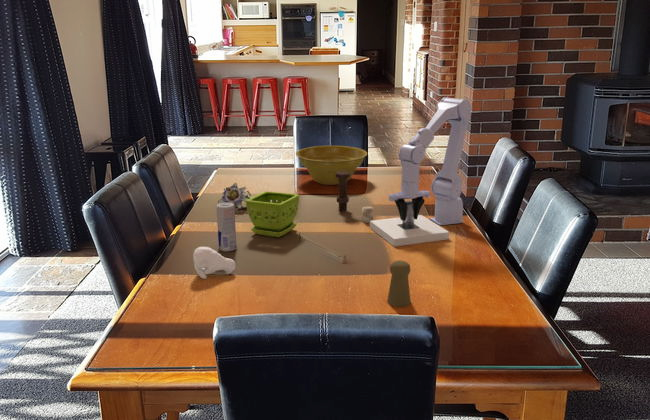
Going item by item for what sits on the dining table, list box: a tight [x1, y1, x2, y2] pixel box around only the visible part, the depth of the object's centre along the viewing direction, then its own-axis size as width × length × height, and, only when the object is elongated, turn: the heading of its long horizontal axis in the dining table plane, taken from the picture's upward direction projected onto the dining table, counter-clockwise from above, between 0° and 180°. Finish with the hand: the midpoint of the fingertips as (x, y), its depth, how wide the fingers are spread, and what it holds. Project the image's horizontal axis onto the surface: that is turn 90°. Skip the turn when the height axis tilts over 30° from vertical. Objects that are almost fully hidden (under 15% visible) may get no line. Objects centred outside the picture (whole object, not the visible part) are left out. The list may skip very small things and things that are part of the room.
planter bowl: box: [295, 145, 368, 186], centre depth 272 cm, size 32×32×13 cm
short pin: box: [361, 205, 374, 224], centre depth 218 cm, size 4×4×5 cm
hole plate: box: [369, 214, 450, 247], centre depth 205 cm, size 20×20×2 cm
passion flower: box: [217, 182, 252, 209], centre depth 234 cm, size 11×11×12 cm
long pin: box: [402, 200, 415, 229], centre depth 204 cm, size 4×4×9 cm
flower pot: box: [245, 191, 300, 238], centre depth 206 cm, size 14×14×13 cm
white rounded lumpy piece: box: [192, 246, 236, 280], centre depth 172 cm, size 6×8×12 cm
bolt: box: [336, 171, 350, 212], centre depth 229 cm, size 6×5×15 cm
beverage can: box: [216, 202, 237, 253], centre depth 190 cm, size 6×6×15 cm
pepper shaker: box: [386, 260, 412, 308], centre depth 153 cm, size 6×6×11 cm
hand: (408, 219), depth 204 cm, fingers closed on long pin, 4 cm apart
